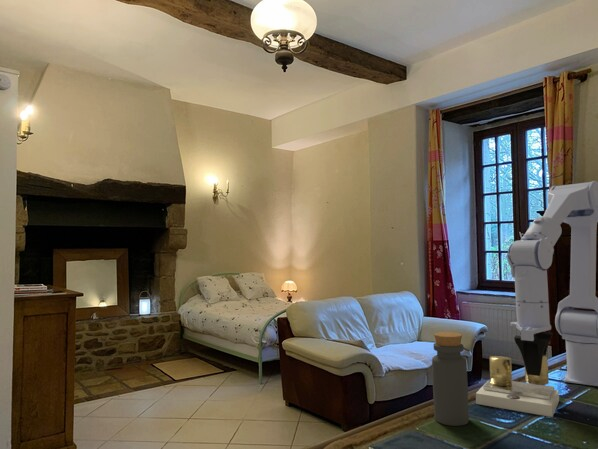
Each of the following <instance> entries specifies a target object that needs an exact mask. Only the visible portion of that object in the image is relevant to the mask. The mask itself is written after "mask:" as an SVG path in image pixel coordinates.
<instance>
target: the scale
mask: <svg viewBox="0 0 598 449" xmlns="http://www.w3.org/2000/svg"><path fill="white" fill-rule="evenodd" d="M489 380H490V379H489ZM489 380H487V381H486V382H485V383H484V384H483V385H482V386H481V387H480V389H478V391H476V393H475V404H476V405H480V406H481V405H482V406H488V407H493V408H497V409H505V410H508V411H509V410H510V411H515V412H521V413H527V414H532V415H539V416H545V417H549V418H553V417H554V414H555V413H556V412H555V411H556V409H557V407H558V404H559V402H560V392H559V390H557V389H554V392H553V394H552V396H551V398H550V400H548V399H541V398H535V397H528V396H522V395H515V394H509V393H502V392H496V391H490V390H483V386H484V385H485V384H486V383H487V382H488V381H489Z"/></svg>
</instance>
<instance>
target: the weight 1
mask: <svg viewBox="0 0 598 449" xmlns="http://www.w3.org/2000/svg"><path fill="white" fill-rule="evenodd" d="M512 372H513V371H512V358H510V357H509V356H502V355H501V356H500V355H492V356H491V355H490V356H489V378H490V379H489V380H490V383H492V384H494V385H499V386H511V385H512V381H513V377H512V375H513V374H512Z"/></svg>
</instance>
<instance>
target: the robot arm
mask: <svg viewBox="0 0 598 449" xmlns="http://www.w3.org/2000/svg"><path fill="white" fill-rule="evenodd" d="M547 203H548V206H547V208H546V209H545V211H544V214H543V215H542V216H539V217H535V218H534V220H533V221H532V222H531V224H530V225H529V227H528V228H527V230H526V232H525V233H524V234H523V236H522V237H521V238H520V240H515V241H513V242H512V243H510V244H509V247H508V250H507V254H506V257H507V258H506V259H507V262H508V265H509V268H510V275H511V277H512V278H514V290H515V308H516V309H515V310H516V313H515V314H516V321H511V322H510V323H509V324H510V327H512V328H516V329H517V330H518V331H520V333H519V334H520V335H515V336H514V337H513V338H514V342H515V344H516V345H517V347H518V350H519V351H520V354H521V358H522V360H523V364H524V369H525V368H526V372H527V374H528V375H535V376H540V373H541V368H542V358H543V354H544V355H547V352H548V347H549V344H550V341H551V339H552V337H553V336H554V335H553V332H550V331H551V330H552V325H551V324H550V323H551V321H550V303H549V287H548V286H549V285H548V284H549V283H548V269H549V268H550V267H551V266H552V263H553V257H554V256H553V255H554V253H555V252H554V251H555V249H554V246H556V243H557V241H558V240H559V238H560V237H561V235H562V232H563V231H562V230H563V229H562V227H561V224H563V223H564V224H567V225H569V227H570V228H571V229H570V230H571V232H570V235H571V236H570V238H571V239H570V270H569V272H570V274H569V277H570V279H569V294H568V296H566V297H564V298H563V299H562V300H560V301H559V302H558V304H557V310H556V314H555V317H554V318H555V319H554V324H555V325H554V326H555V329H556V331H557V332H558V334H559V335H560V336H561V339H562V340H565V350H566V351H565V353H566V354H565V357H566V370H567V371H566V374H565V376H564V379H563V382H564V383H571V384H579V385H585V386H586V385H587V386H593V387H598V297H597V296H596V291H597V290H596V285H597V284H596V283H597V282H596V279H597V277H596V276H597V275H596V273H597V228H598V226H597V225H598V181H597V180H591V181H588V182H580V183H572V184H571V183H570V184H563V185H553V186H551V187H550V188H549V190H548V192H547ZM580 309H581V310H580ZM582 309H585V310H582ZM592 310H594V311H592Z"/></svg>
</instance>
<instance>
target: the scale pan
mask: <svg viewBox="0 0 598 449" xmlns="http://www.w3.org/2000/svg"><path fill="white" fill-rule="evenodd" d="M487 381H488V380H487ZM487 381H486V382H487ZM486 382H485V383H486ZM485 383H484V384H485ZM484 384H483V385H484ZM483 385H482V386H483ZM483 390H490V391H496V392H502V393H509V394H515V395H522V396H528V397H535V398H541V399H548V400H550V398H551V396H552V394H553V392H554V390H555V386H552V385H535V384H530V383H528V382H523V381H516V380H512V385H511V386H499V385H494V384H492V383H490V379H489V381H488V382H487V383H486V384H485V385H484V386H483Z"/></svg>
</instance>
